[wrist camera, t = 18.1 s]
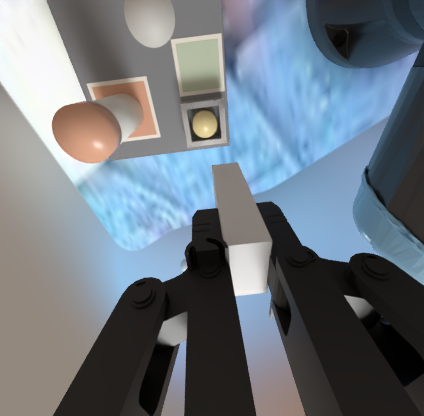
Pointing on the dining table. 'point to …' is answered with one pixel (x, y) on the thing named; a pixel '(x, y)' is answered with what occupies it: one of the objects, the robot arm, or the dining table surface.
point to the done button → (204, 123)
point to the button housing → (221, 116)
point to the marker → (96, 126)
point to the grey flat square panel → (148, 62)
